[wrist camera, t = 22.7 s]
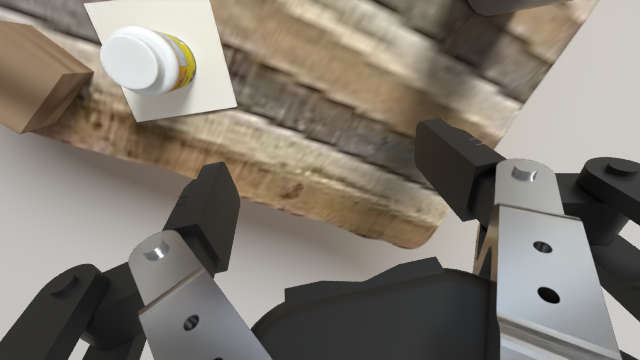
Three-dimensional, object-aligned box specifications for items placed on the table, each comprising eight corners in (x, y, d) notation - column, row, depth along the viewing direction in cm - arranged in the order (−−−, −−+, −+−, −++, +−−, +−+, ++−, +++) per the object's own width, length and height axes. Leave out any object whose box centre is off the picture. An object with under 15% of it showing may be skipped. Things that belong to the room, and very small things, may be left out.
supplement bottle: (161, 94, 30) (116, 109, 21) (133, 43, 27) (67, 34, 18) (207, 79, 30) (182, 88, 21) (182, 27, 28) (142, 11, 19)
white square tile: (207, -8, 27) (206, -9, 27) (237, 106, 32) (237, 106, 32) (86, 4, 26) (83, 3, 25) (138, 121, 31) (136, 122, 31)
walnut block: (32, 25, 26) (-17, 18, 21) (94, 71, 28) (63, 73, 24) (-7, 84, 27) (-60, 88, 23) (56, 123, 30) (19, 134, 25)
